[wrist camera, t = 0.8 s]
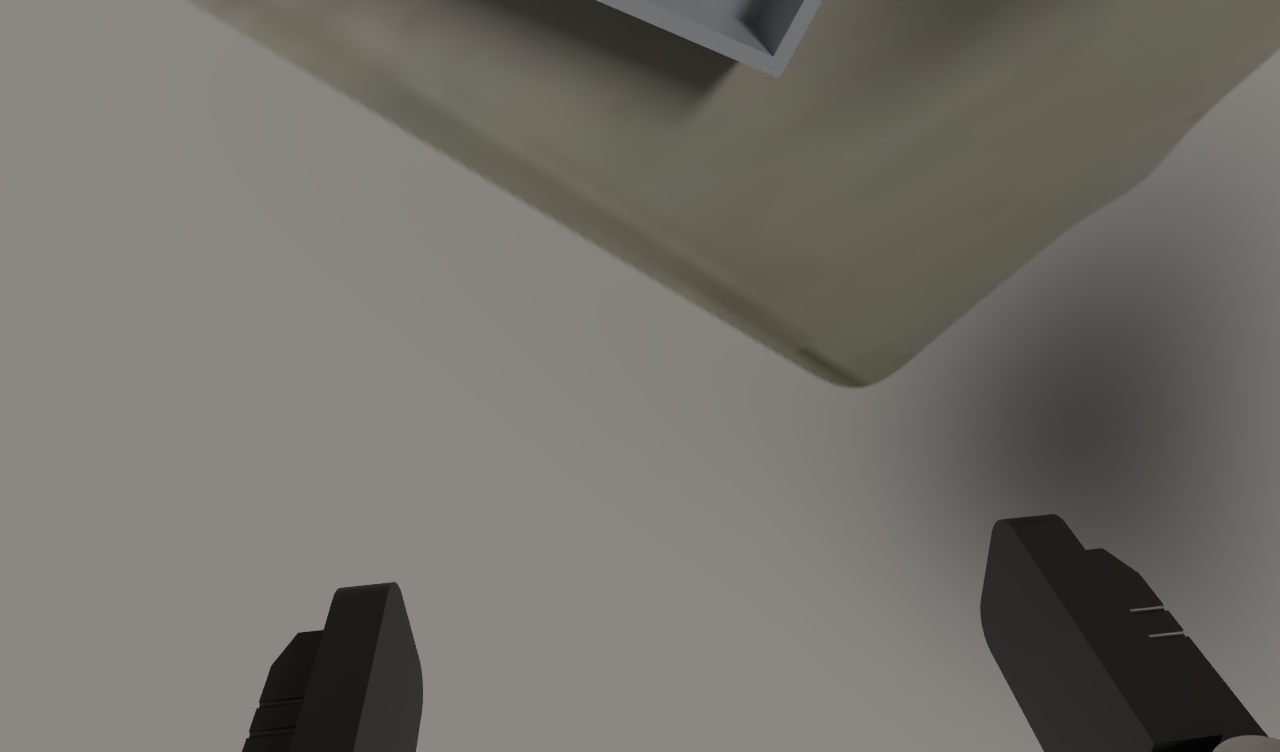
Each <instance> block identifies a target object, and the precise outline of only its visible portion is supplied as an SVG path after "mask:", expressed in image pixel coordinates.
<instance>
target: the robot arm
mask: <svg viewBox="0 0 1280 752" xmlns="http://www.w3.org/2000/svg"><path fill="white" fill-rule="evenodd" d="M980 611H981V622H982V627H983V631H984V635H985V638H986V641H987V644H988V647H989V649H990V651H991V653H992V655H993V657H994V658H995V660H996V662H997V664H998V666H999V668H1000V670H1001V671H1002V673H1003V675H1004V677H1005V679H1006V681H1007V683H1008V685H1009V686H1010V689H1011V690H1012V692H1013V694H1014V696H1015V698H1016V700H1017V701H1018V703H1019V705H1020V707H1021V709H1022V711H1023V713H1024V715H1025V717H1026V719H1027V720H1028V722H1029V724H1030V726H1031V728H1032V730H1033V732H1034V734H1035V735H1036V737H1037V739H1038V741H1039V743H1040V745H1041V746H1042V749H1043V750H1044V752H1280V740H1279V739H1275V738H1270V737H1268V736H1267V735H1266V733H1265V732H1264V731H1263V730H1262V729H1261V727H1260V726H1259V725H1258V724H1257V722H1256V721H1255V720H1254V719H1253V717H1252V716H1251V715H1250V713H1249V712H1248V711H1247V710H1246V708H1245V707H1244V706H1243V705H1242V703H1241V702H1240V701H1239V699H1238V698H1237V697H1236V696H1235V695H1234V693H1233V692H1232V691H1231V689H1230V688H1229V687H1228V686H1227V684H1226V683H1225V682H1224V681H1223V679H1222V678H1221V677H1220V675H1219V674H1218V673H1217V672H1216V671H1215V669H1214V668H1213V667H1212V665H1211V664H1210V663H1209V661H1208V660H1207V659H1206V658H1205V657H1204V655H1203V654H1202V653H1201V651H1200V650H1199V649H1198V648H1197V646H1196V645H1195V644H1194V643H1193V641H1192V640H1191V639H1190V637H1185V635H1184V633H1183V629H1182V627H1181V626H1180V625H1179V624H1178V622H1177V621H1176V620H1175V619H1174V617H1173V616H1172V615H1171V614H1170V612H1169V611H1165V610H1164V608H1163V603H1162V602H1161V601H1160V600H1159V598H1158V597H1157V596H1156V594H1155V593H1154V592H1153V591H1152V589H1151V588H1150V587H1149V586H1148V584H1147V583H1146V582H1145V580H1144V579H1143V578H1142V577H1141V576H1140V574H1139V573H1138V572H1136V571H1135V570H1133V569H1132V568H1130V567H1129V566H1127V565H1126V564H1125V563H1123V562H1122V561H1120V560H1119V559H1117V558H1116V557H1114V556H1113V555H1112V554H1110V553H1109V552H1107V551H1106V550H1104V549H1102V548H1101V549H1091V550H1085V549H1084V547H1083V546H1082V544H1081V543H1080V542H1079V541H1078V539H1077V538H1076V537H1075V535H1074V534H1073V532H1072V531H1071V530H1070V528H1069V527H1068V526H1067V525H1066V523H1065V522H1064V521H1063V519H1061V518H1060V517H1059V516H1057V515H1055V514H1049V515H1040V516H1030V517H1021V518H1012V519H1003V520H998V521H997V522H996V523H995V525H994V527H993V530H992V535H991V541H990V547H989V553H988V559H987V566H986V572H985V578H984V585H983V590H982V597H981V605H980ZM259 703H260V707H259V708H257V709H256V712H255V715H254V718H253V721H252V724H251V727H250V730H249V732H250V736H249V738H247V739H246V742H245V745H244V748H243V751H242V752H416V747H417V740H418V733H419V727H420V720H421V714H422V704H423V682H422V671H421V665H420V660H419V656H418V653H417V649H416V645H415V642H414V638H413V634H412V631H411V627H410V623H409V619H408V616H407V612H406V609H405V605H404V601H403V597H402V593H401V590H400V588H399V586H398V585H397V583H395V582H391V583H383V584H372V585H363V586H354V587H345V588H339V589H338V590H337V591H336V592H335V594H334V597H333V600H332V603H331V607H330V610H329V614H328V617H327V620H326V624H325V627H324V630H320V631H311V632H302V633H298V634H297V635H296V636H295V637H294V639H293V640H292V641H291V642H290V644H289V645H288V646H287V647H286V648H285V650H284V651H283V652H282V653H281V655H280V656H279V657H278V658H277V659H276V661H275V662H274V663H273V665H272V666H271V668H270V671H269V674H268V677H267V681H266V683H265V686H264V689H263V692H262V695H261V698H260V701H259Z"/></svg>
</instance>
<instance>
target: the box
mask: <svg viewBox="0 0 1280 752" xmlns="http://www.w3.org/2000/svg"><path fill="white" fill-rule="evenodd" d="M597 1H599V2H601V3H604V4H606V5H608V6H611V7H613V8H615V9H618V10H620V11H622V12H625V13H627V14H629V15H632V16H634V17H636V18H639V19H641V20H643V21H646V22H648V23H650V24H653V25H655V26H657V27H660V28H662V29H664V30H667V31H669V32H671V33H674V34H676V35H678V36H681V37H683V38H685V39H688V40H690V41H692V42H695V43H697V44H699V45H702V46H704V47H706V48H709V49H711V50H713V51H716V52H718V53H720V54H723V55H725V56H727V57H730V58H732V59H734V60H737V61H739V62H741V63H744V64H746V65H748V66H751V67H753V68H755V69H758V70H760V71H762V72H765V73H767V74H769V75H772V76H774V77H776V78H780V76H781V75H782V73H783V71H784V69H785V68H786V66H787V64H788V62H789V60H790V59H791V57H792V55H793V53H794V51H795V50H796V48H797V46H798V44H799V42H800V41H801V39H802V37H803V35H804V33H805V32H806V30H807V28H808V26H809V24H810V23H811V21H812V19H813V17H814V15H815V14H816V12H817V10H818V8H819V7H820V5H821V3H822V1H823V0H597Z"/></svg>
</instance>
